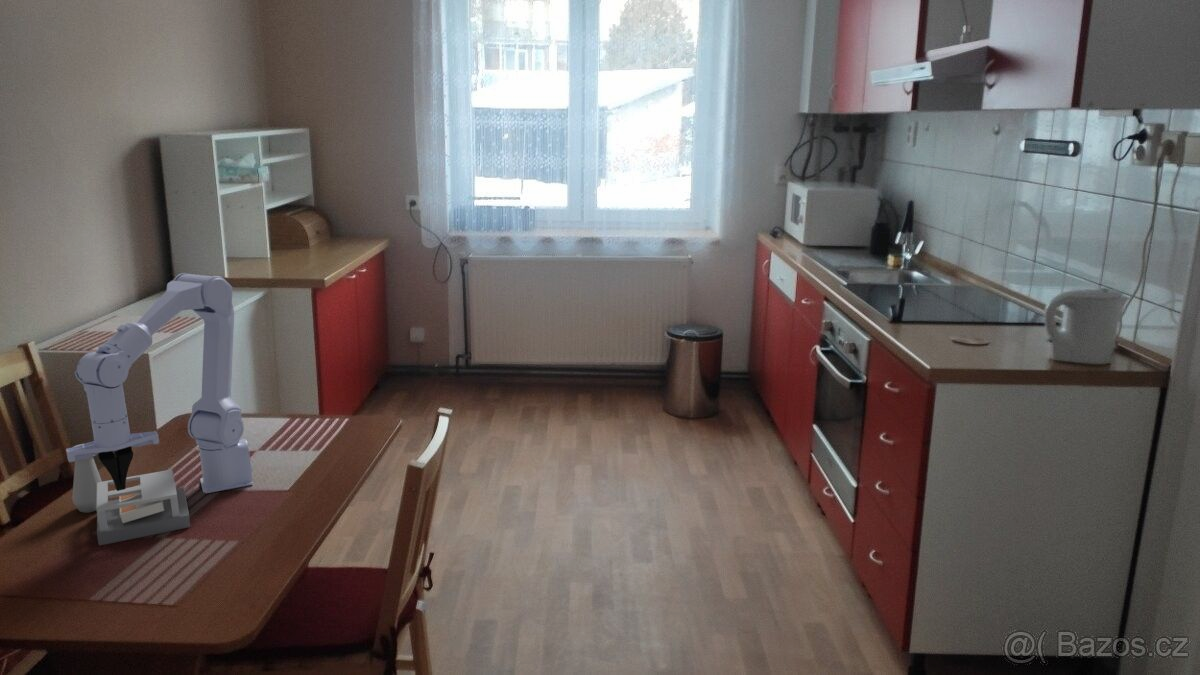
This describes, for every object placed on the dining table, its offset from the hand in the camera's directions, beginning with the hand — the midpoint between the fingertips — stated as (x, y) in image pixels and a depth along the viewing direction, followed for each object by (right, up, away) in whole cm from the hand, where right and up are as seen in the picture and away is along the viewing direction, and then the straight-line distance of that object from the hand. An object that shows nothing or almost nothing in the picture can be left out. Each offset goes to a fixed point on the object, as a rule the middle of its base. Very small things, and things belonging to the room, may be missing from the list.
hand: (120, 488), depth 161 cm
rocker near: (+3, -4, +2) cm, 5 cm away
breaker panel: (+1, -7, +6) cm, 10 cm away
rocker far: (-1, -2, +8) cm, 8 cm away
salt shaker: (-12, -6, +12) cm, 18 cm away
